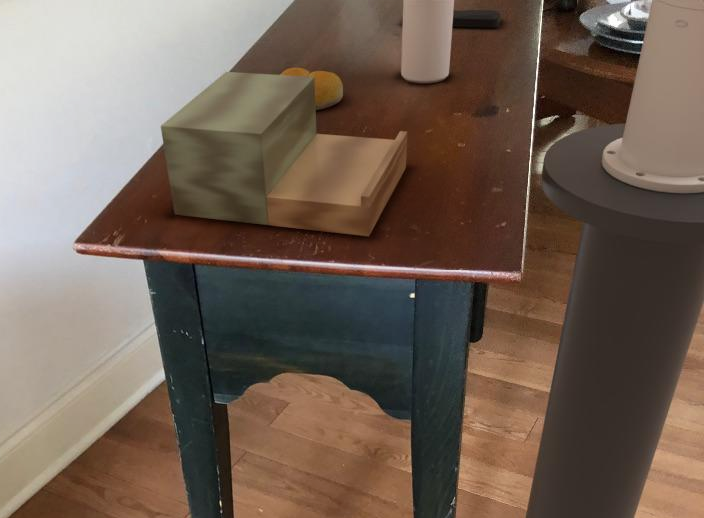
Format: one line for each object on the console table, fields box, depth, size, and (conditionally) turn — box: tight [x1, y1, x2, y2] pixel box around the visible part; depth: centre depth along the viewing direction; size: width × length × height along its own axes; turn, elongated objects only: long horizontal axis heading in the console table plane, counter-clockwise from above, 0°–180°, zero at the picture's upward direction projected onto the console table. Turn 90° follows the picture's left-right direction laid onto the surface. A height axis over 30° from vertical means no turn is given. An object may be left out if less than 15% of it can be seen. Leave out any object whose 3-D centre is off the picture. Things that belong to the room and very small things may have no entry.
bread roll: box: [279, 66, 344, 111], centre depth 102 cm, size 8×9×4 cm
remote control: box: [452, 9, 501, 29], centre depth 128 cm, size 5×2×15 cm
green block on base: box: [160, 71, 408, 237], centre depth 80 cm, size 20×16×9 cm
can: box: [400, 0, 455, 85], centre depth 105 cm, size 6×6×12 cm
